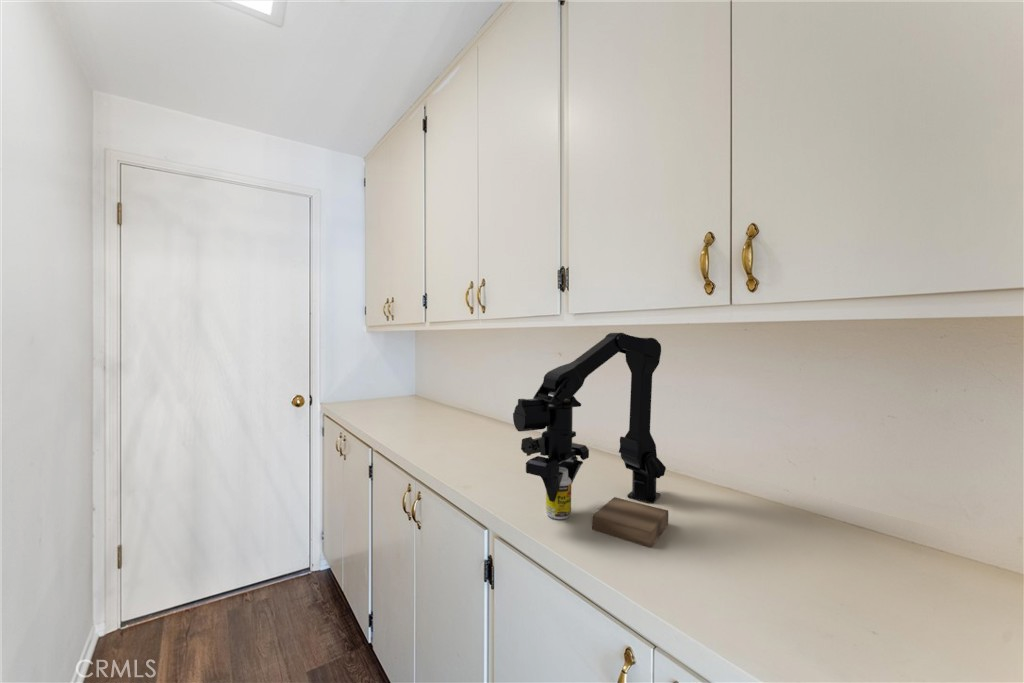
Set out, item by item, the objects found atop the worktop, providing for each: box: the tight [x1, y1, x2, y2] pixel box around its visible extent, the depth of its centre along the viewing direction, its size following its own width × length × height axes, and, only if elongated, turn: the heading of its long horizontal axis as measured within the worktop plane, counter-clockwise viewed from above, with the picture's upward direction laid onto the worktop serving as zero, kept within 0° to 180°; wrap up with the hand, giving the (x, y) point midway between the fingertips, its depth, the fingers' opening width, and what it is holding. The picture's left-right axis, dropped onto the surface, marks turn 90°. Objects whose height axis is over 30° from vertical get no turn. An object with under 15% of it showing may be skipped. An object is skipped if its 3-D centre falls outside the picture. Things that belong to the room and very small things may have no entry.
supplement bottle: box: [545, 467, 572, 520], centre depth 91 cm, size 6×6×10 cm
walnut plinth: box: [591, 496, 669, 549], centre depth 85 cm, size 12×12×3 cm
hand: (558, 496), depth 91 cm, fingers closed on supplement bottle, 6 cm apart
